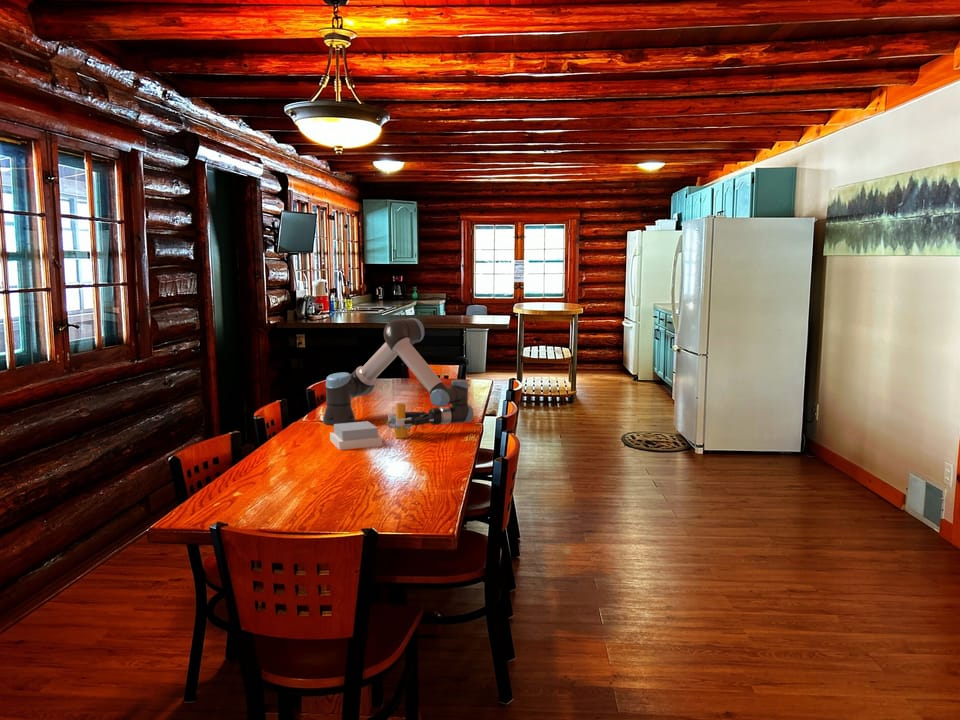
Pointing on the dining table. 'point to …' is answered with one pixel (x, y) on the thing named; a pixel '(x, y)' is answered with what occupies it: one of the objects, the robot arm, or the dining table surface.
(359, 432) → the tower top
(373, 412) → the dining table surface
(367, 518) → the dining table surface
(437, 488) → the dining table surface
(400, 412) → the yellow post with rings
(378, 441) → the tower base
